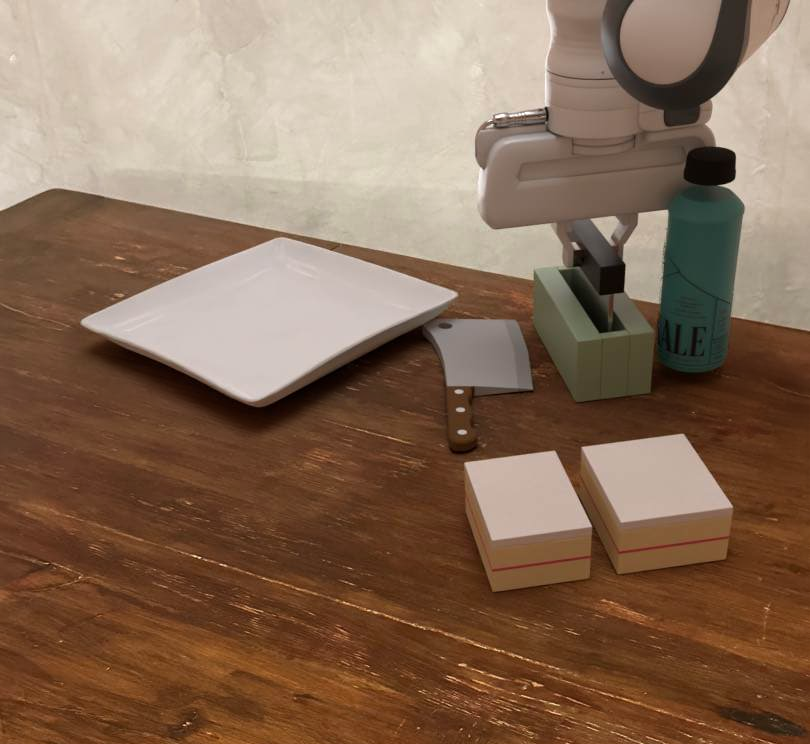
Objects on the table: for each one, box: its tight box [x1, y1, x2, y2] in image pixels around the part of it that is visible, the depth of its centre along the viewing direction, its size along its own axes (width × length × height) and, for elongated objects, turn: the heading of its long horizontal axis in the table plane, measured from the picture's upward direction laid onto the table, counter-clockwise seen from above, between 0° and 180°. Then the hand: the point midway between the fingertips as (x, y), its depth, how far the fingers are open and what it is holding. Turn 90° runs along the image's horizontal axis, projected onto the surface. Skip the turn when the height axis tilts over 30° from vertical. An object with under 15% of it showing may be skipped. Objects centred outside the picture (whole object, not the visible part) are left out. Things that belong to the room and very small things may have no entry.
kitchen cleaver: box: [421, 318, 534, 452], centre depth 103 cm, size 24×1×10 cm
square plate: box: [80, 236, 459, 408], centre depth 112 cm, size 27×27×4 cm
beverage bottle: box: [654, 146, 746, 373], centre depth 96 cm, size 6×7×20 cm
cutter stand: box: [532, 264, 656, 403], centre depth 104 cm, size 7×16×6 cm, turn 8°
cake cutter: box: [565, 219, 627, 334], centre depth 102 cm, size 2×12×12 cm, turn 8°
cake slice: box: [463, 450, 593, 593], centre depth 82 cm, size 7×10×5 cm
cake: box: [578, 433, 734, 575], centre depth 83 cm, size 8×10×5 cm
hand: (592, 262), depth 100 cm, fingers closed on cake cutter, 2 cm apart
